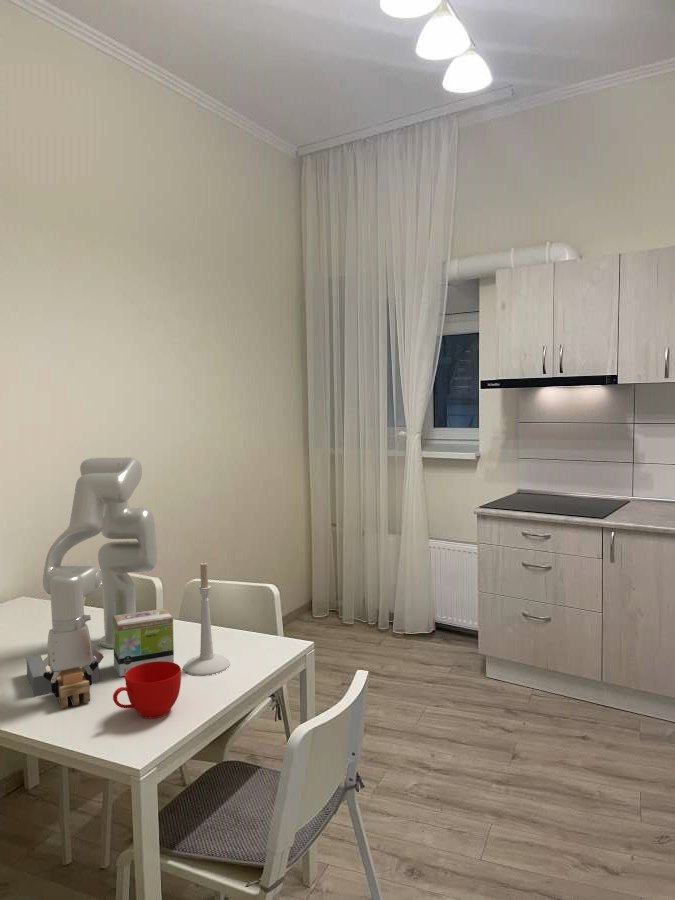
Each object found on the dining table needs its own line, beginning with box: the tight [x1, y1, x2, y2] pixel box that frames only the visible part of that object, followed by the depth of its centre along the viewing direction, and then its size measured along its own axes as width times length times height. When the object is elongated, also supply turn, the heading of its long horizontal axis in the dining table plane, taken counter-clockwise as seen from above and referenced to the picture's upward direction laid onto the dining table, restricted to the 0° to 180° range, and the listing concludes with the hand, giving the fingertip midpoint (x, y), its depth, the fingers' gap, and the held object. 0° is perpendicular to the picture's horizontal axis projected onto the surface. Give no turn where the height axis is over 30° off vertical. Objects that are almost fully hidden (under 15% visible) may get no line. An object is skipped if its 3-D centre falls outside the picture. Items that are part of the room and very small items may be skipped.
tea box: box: [113, 608, 175, 678], centre depth 184 cm, size 15×10×15 cm
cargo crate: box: [60, 667, 83, 686], centre depth 165 cm, size 4×5×3 cm
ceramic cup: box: [112, 661, 182, 719], centre depth 155 cm, size 13×17×10 cm
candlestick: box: [183, 562, 231, 677], centre depth 183 cm, size 13×13×30 cm
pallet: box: [57, 667, 91, 709], centre depth 165 cm, size 7×11×5 cm, turn 31°
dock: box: [26, 652, 100, 697], centre depth 177 cm, size 16×16×5 cm
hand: (72, 691), depth 165 cm, fingers closed on pallet, 6 cm apart
